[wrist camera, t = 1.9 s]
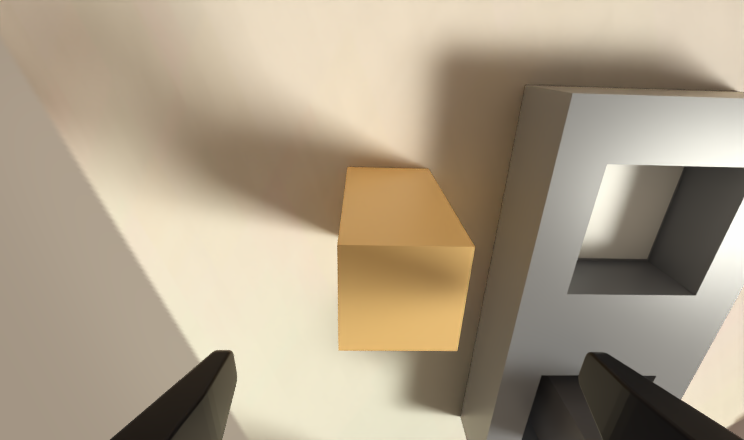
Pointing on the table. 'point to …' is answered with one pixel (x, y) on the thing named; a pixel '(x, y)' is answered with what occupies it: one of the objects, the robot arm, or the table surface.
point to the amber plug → (400, 263)
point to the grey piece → (609, 244)
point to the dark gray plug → (562, 410)
